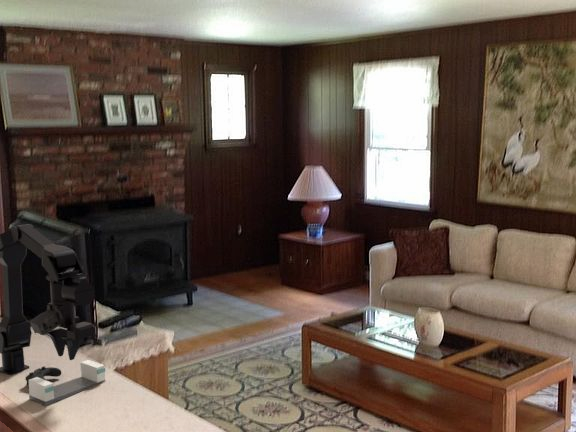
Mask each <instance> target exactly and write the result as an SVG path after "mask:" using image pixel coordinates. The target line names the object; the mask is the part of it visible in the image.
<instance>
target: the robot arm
mask: <svg viewBox="0 0 576 432" xmlns="http://www.w3.org/2000/svg"><path fill="white" fill-rule="evenodd" d="M28 250H30V251H31V253H33V254H35V255H36V256H37V257H38V258H40V260H41V266H42V268H44V270H45V271H46V272H47V274H48V275H46V276H45V279H46V281H49V288H50V289H49V290H50V291H49V292H50V302H49V303H47V305H46V311H45V310H44V312H41V313H39V314H37V316H35V317H33V318H31V320H28V319H27V318H26V317H25V315H24V309H23V308H24V307H23V304H24V302H23V286H22V284H23V283H22V264H23V261H24V259H25V258H26V256H27V253H28V252H27V251H28ZM0 264H1V272H2V273H1V276H2V293H3V294H2V295H3V297H2V298H3V317H2V318H1V320H0V355H1V366H0V372H1V373H4V374H6V375H13V374H16V373H19V372H21V371H25V370H29V369H30V366H29V365H27V364H25V354H24V348H27V347H31V341H32V340H31V339H32V333H33V332H34V334H38V335H41V336H46V335H48V336H49V337H50V339H51V342H52V343H53V346H54V348H55V351H56V353H57V355H58V357H63V356H64V353H65V347H67V355H68V358H69V361H72V360H75V357H76V356H77V353H78V352H79V351H78V350H79V348H80V346H81V345H82V342H83V341H84V339H85V338H88V337H91V336H94V335H97V328H96V327H97V326H96V325H94V323H91V322H87V321H82V322H80V317H79V316H76V307H78V306H88V305H89V304H91V303H92V302H93V300H94V299H95V296H96V290H95V287H94V286H93V284H91V283H90V282H88V278H87V276H86V272H85V268H84V267H83V265H82V264H81V260H79V257H78V255H77V253H76V252H75V251H74V250H73V249H72V248H70V247H69V246H66V245H60V244H57V243H54V242H52V240H50V239H49V238H48V237H46V236H45V235H43V234H42V233H41V232H39V231H38V229H36V228H35V227H34V225H33V224H30V223H26V224H19V225H15V226H12V227H11V228H10V229H9V230H7V231H5V232H2V233H0ZM77 322H78V323H77ZM31 328H32V329H31ZM32 330H33V332H32Z"/></svg>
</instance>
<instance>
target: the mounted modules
mask: <svg viewBox="0 0 576 432" xmlns="http://www.w3.org/2000/svg"><path fill="white" fill-rule="evenodd" d="M105 373H106V367H105V364H102V363H99V362H96V361H93V360H90V359H87V360H84V361H80V374H81V375H80V377H84V378H86V379H89V380H92V381H95V382H100V381H103V380H105V381H106V374H105ZM54 386H55V385H54V383H53V382H52V381H49V380H46V379H45V380H44V379H41V378H38V377H35V378H32V379H29V385H28V391H29V395H31V396H33V397H35V398H38V399H40V400H43V401H45V402H46V401H49V400H52V399H54Z"/></svg>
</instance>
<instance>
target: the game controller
mask: <svg viewBox="0 0 576 432" xmlns="http://www.w3.org/2000/svg"><path fill="white" fill-rule="evenodd" d="M61 375H62V370H61V369H60V368H58V367H53V366H52V367H46V366H44V365H43V366H41V368H40V367H39V368H36V369H35V370H33V371H31V372H29V373H28V374H27V375H26V376H25V377H24V378H25V381H26V386H29V379H32V378H35V377H38V378H41V379H44V380H46V378H45V377H61Z"/></svg>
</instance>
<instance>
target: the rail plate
mask: <svg viewBox="0 0 576 432" xmlns="http://www.w3.org/2000/svg"><path fill="white" fill-rule="evenodd" d="M105 382H106V379H105V380H103V381H100V382H95V381H92V380H89V379H86V378H84V377H81V376H78V377H76V378H74V379H70V380H68V381H66V382H63V383H60V384H56V385H53V386H54V399H52V400H49V401H46V402H45V401H43V400H40V399H38V398H35V397H33V396H31V395H29V397H28V398H29V400H31V401H34V402H35V403H38V404H40V405H43V406H48V405H51V404H54V403H57V402H59V401H62V400H64V399H66V398H69V397H72V396H73V395H76V394H78V393H80V392H83V391H85V390H87V389H90V388H93V387H95V386H97V385H100V384H102V383H105Z"/></svg>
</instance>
